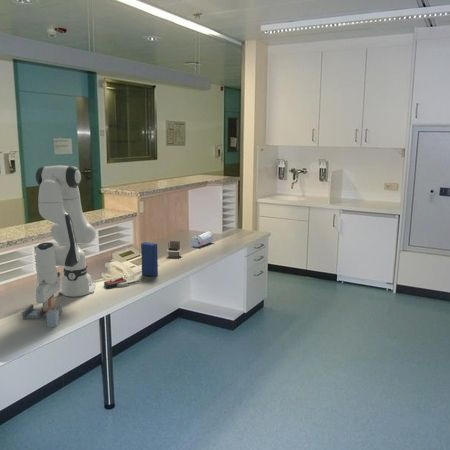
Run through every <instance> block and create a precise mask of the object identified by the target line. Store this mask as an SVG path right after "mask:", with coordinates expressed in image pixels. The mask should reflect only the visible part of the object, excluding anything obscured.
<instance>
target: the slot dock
mask: <svg viewBox="0 0 450 450" xmlns="http://www.w3.org/2000/svg"><path fill="white" fill-rule="evenodd" d="M54 310H59V316H60V315H61V314H62V312H63V304H59V305H58V306H57V307H55V309H54ZM47 312H48V311H43V306H42V307H41V308H40V309H39V308H37V309H34V304H30V305H29V306H28V307H27V308H25V309H24V310H23V311H22V315H21V316H22V320H38V321H39V320H46V321H47V315H46V313H47Z"/></svg>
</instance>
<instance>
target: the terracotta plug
mask: <svg viewBox="0 0 450 450" xmlns="http://www.w3.org/2000/svg"><path fill="white" fill-rule="evenodd" d="M48 303H49V307H48V308H44V304H43V303H42V307H43V311H49V310H54V309H56V304H55V295H54V296H51V297H50V298H49V299H48Z"/></svg>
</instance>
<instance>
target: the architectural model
mask: <svg viewBox="0 0 450 450" xmlns="http://www.w3.org/2000/svg"><path fill="white" fill-rule="evenodd" d="M167 245H168V247H167V249H166V252H168V253H167V254H168V256H167V257H168V258H173V259H176V258H177V259H178V258H179V257H180V252H181V251H182V249H183V248H180V247H181V246H180V245H181V242H180V241H178V240H170V241H169V242H168V244H167Z"/></svg>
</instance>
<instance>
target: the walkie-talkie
mask: <svg viewBox="0 0 450 450" xmlns="http://www.w3.org/2000/svg"><path fill="white" fill-rule="evenodd" d="M139 282H140V280H134V281H127V279H125V278H123V277H122V276H119V277H114V278H113V279H111V278H110V279H109V280H107V281H104V282H103V284H104V285H103V286H104V287H105V288H106V289H114V288H123V287H128V286H129V285H132V284H136V283H139Z"/></svg>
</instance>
